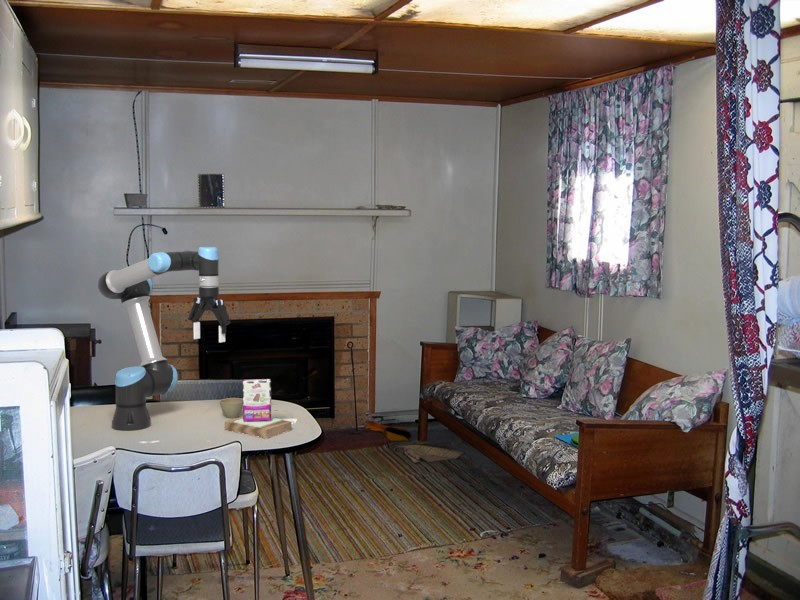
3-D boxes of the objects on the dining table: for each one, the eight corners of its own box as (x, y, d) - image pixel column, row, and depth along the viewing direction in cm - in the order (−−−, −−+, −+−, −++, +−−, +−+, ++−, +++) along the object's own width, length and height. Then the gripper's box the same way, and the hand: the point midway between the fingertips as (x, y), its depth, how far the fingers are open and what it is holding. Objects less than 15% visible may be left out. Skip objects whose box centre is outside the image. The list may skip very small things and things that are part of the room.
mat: (233, 422, 339) (233, 421, 339) (255, 415, 350) (255, 414, 349) (260, 427, 331) (260, 426, 331) (282, 420, 342) (282, 419, 342)
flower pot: (218, 414, 364) (218, 398, 363) (242, 413, 367) (242, 397, 366) (221, 420, 355) (221, 403, 354) (245, 419, 358) (245, 402, 357)
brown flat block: (224, 429, 340) (224, 421, 340) (250, 422, 353) (250, 413, 352) (266, 438, 329) (266, 429, 328) (291, 430, 341) (291, 421, 341)
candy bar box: (271, 418, 344) (271, 378, 342) (271, 421, 339) (271, 381, 337) (243, 418, 342) (243, 379, 340) (242, 422, 337) (242, 381, 335)
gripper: (178, 285, 334) (179, 338, 337) (225, 289, 321) (226, 344, 324) (192, 283, 341) (193, 336, 343) (239, 287, 328) (239, 342, 330)
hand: (209, 340), depth 333 cm, fingers open, 13 cm apart
